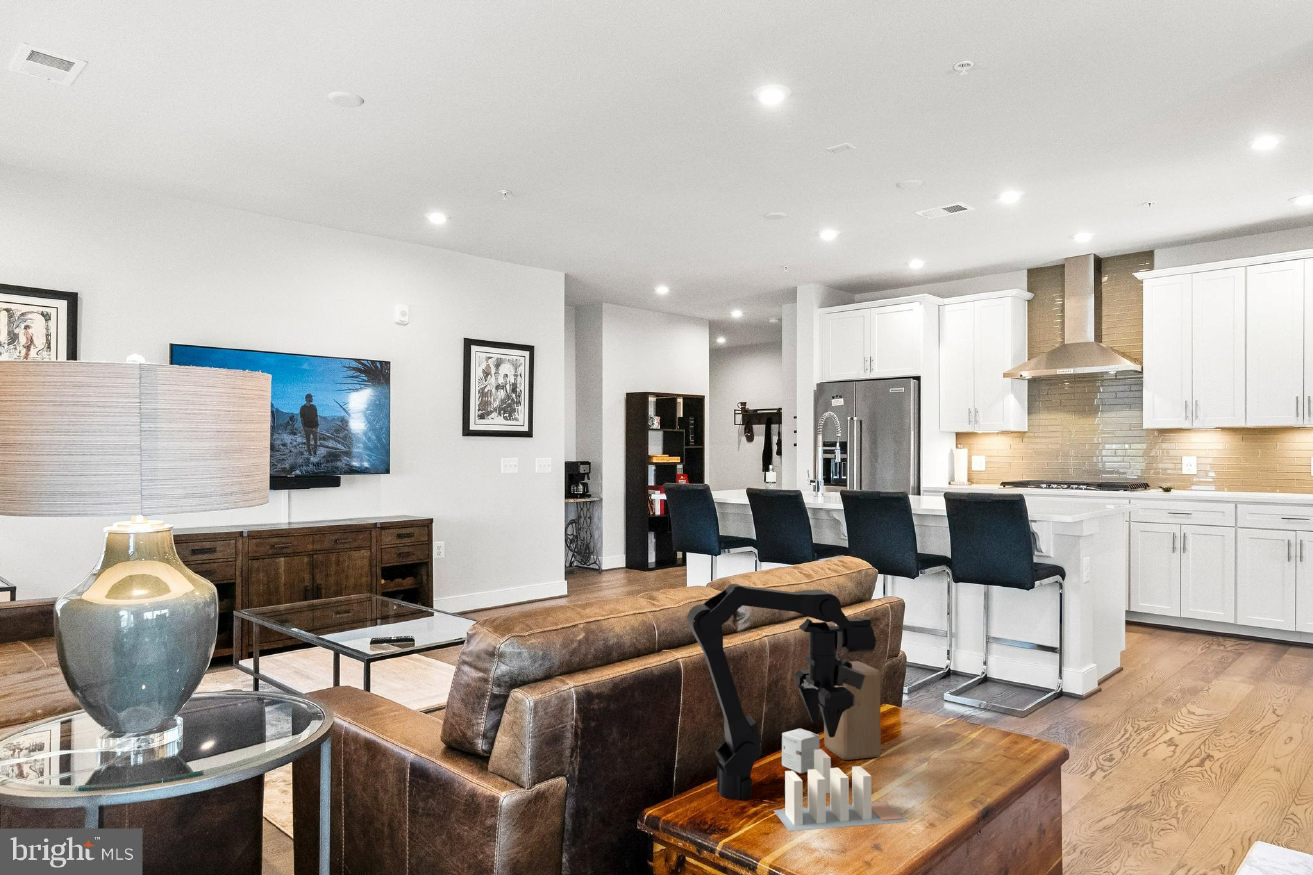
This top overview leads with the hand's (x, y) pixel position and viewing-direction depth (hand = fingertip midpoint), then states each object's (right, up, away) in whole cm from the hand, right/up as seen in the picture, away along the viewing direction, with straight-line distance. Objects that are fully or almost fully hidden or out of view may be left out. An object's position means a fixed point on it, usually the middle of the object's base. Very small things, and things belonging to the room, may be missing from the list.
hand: (823, 729), depth 167 cm
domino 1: (-8, -11, -15) cm, 21 cm away
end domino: (0, -13, 0) cm, 13 cm away
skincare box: (-2, -14, +14) cm, 20 cm away
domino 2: (-4, -11, -14) cm, 19 cm away
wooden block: (+12, -14, +23) cm, 29 cm away
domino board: (0, -12, -13) cm, 18 cm away
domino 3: (0, -11, -13) cm, 18 cm away
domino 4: (+5, -12, -13) cm, 18 cm away
